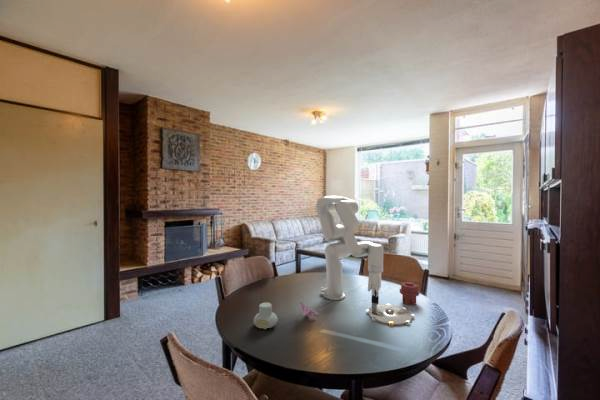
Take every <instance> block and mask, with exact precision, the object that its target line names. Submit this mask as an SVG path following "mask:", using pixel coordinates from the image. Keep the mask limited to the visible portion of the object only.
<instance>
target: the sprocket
mask: <svg viewBox="0 0 600 400" xmlns="http://www.w3.org/2000/svg"><path fill="white" fill-rule="evenodd" d="M365 311H366V313H365V314H366V315H368V316H369V317H370V318H371V321H373V322H378V323H380V324H384V325H388V326H389V327H394V326H403V325H407V326H410V325H411V322H412V320H414V319H415V314H414V313H411V311H409V310H408V309H407V307H404V306H398V305H394V304H391V303H385V304H384V303H382V304H378V305H377V303H375V302H373V303H372V302H371V306H370V308H368V309H366V310H365Z"/></svg>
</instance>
